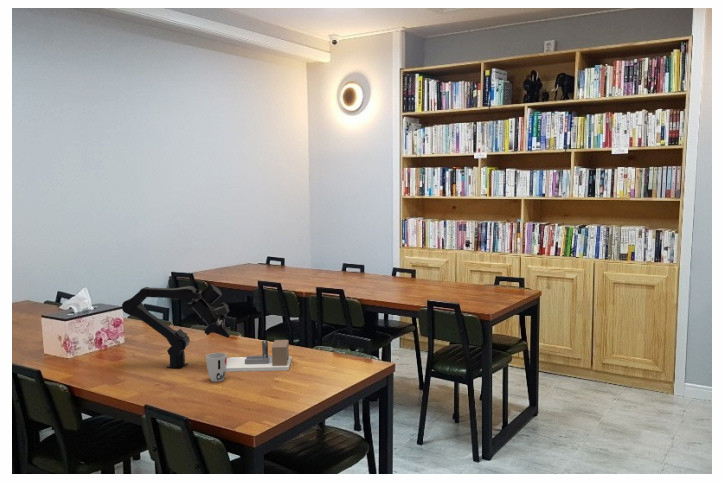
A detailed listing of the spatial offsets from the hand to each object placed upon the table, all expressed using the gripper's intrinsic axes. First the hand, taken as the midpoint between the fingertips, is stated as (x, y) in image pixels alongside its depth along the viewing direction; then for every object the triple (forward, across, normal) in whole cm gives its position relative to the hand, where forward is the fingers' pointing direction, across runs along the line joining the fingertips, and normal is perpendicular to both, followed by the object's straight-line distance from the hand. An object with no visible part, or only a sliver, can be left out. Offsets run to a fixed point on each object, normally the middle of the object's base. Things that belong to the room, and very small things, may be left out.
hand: (229, 337), depth 262 cm
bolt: (+20, -1, -7) cm, 22 cm away
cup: (+8, -20, +8) cm, 23 cm away
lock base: (+17, -2, 0) cm, 17 cm away
